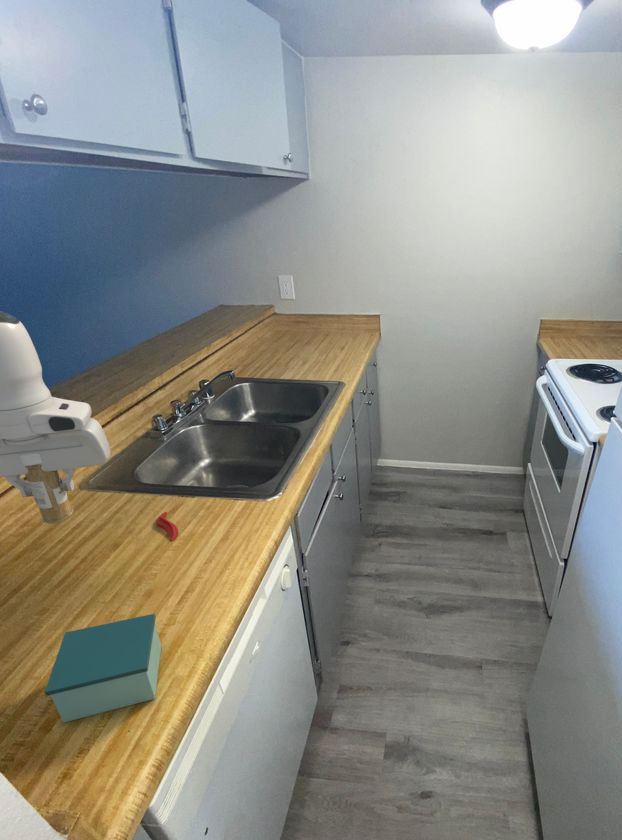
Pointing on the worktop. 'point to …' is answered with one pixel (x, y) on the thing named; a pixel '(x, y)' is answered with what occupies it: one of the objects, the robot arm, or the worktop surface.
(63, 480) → the robot arm
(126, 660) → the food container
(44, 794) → the worktop surface
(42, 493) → the sprinkles bottle
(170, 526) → the cayenne pepper
